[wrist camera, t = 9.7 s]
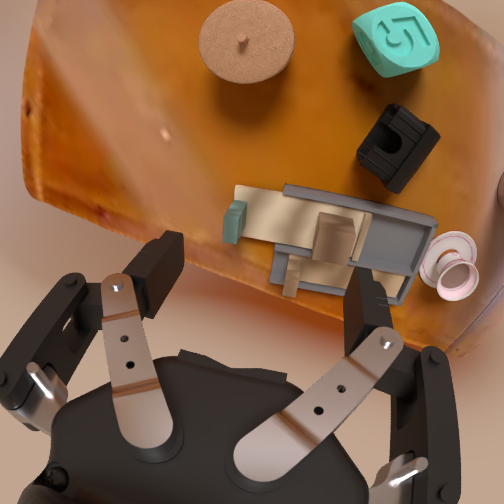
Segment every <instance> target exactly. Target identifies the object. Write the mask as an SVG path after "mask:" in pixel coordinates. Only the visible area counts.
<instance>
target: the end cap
mask: <svg viewBox="0 0 504 504" xmlns="http://www.w3.org/2000/svg"><path fill="white" fill-rule="evenodd" d="M439 139H440V134H439V133H438V132H437V131H436V130H435V129H434V128H433V127H432V126H431V125H429V124H427V123H425V122H423V121H421V120H419V119H418V118H417V117H416V116H414V115H413V114H412V113H411V112H409V111H408V110H407V109H406V108H404V107H403V106H402V105H398V104H393V103H392V104H389V105H388V106H387V107H386V109H385V110H384V112H383V113H382V115H381V116H380V117H379V119H378V120H377V122H376V123H375V125H374V126H373V128H372V129H371V131H370V132H369V134H368V135H367V136H366V138H365V139H364V141H363V142H362V144H361V145H360V147H359V148H358V149H357V158H358V160H359V161H360V165H362V166H363V167H365V168H366V169H367V170H369V171H370V172H372V173H373V174H374V175H376V176H377V177H378V178H380V179H381V181H382V183H383V185H384V186H385V187H386V188H387V189H388V190H390V191H391V192H393V193H395V194H399V193H400V192H401V191H402V189H403V188H404V187H405V186H406V184H407V183H408V182H409V180H410V179H411V178H412V176H413V175H414V174H415V172H416V171H417V170H418V168H419V167H420V166H421V164H422V163H423V162H424V160H425V159H426V158H427V156H428V155H429V153H430V152H431V151H432V149H433V148H434V146H435V145H436V144H437V142H438V141H439Z"/></svg>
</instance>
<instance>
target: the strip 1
mask: <svg viewBox="0 0 504 504" xmlns="http://www.w3.org/2000/svg"><path fill="white" fill-rule="evenodd" d="M319 212H324V213H329V214H334V215H339V216H344V217H349V218H353V222H354V227H355V231H356V238H355V242H354V245H353V248H352V251H351V254H350V257H351V260H352V261H357V262H358V259H359V256H360V253H361V250H362V247H363V244H364V241H365V238H366V235H367V232H368V229H369V226H370V222H371V219H372V213H371V212H369V211H364V210H360V209H355V208H350V207H346V206H341V205H336V204H331V203H326V202H321V201H316V200H311V199H306V198H300V197H295V196H289V195H284V194H283V192H279V191H273V190H267V189H261V188H255V187H248V186H242V185H236V186H235V194H234V201H233V202H232V204H231V205H230V207H229V209H228V210H227V212H226V213H225V215H224V221H223V242H226V243H232V244H237V242H238V240H239V238H240V236H244V237H249V238H255V239H260V240H265V241H271V242H276V243H282V244H287V245H292V246H297V247H303V248H308V249H312V247H313V238H314V234H315V229H316V225H317V220H318V216H319Z"/></svg>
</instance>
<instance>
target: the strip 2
mask: <svg viewBox="0 0 504 504" xmlns="http://www.w3.org/2000/svg"><path fill="white" fill-rule="evenodd" d="M354 267H355V266H354V265H349V264H347V266H343V265H338V264H332V263H327V262H322V261H317V260H312V257H307V256H301V255H296V254H291V253H290V255H289V260H288V265H287V270H286V275H285V281H284V287H283V292H282V295H283V296H289V297H294V298H295V296H296V292H297V288H298V284H299V281H304V282H309V283H315V284H320V285H326V286H331V287H337V288H342V289H347V286H348V283H349V280H350V278H351V275H352V272H353V269H354ZM358 267H359V266H358ZM371 270H372V274H373V279H374V281H379V282H380V283H381V284H382V286H383V287H384V288H385V290H386V294H387V296H388V297H393V298H395V297H396V295H397V293H398V291H399V289H400V287H401V285H402V283H403V281H404V279H405V277H406V276H405V275H400V274H395V273H390V272H385V271H380V270H374V269H371Z"/></svg>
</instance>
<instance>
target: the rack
mask: <svg viewBox="0 0 504 504" xmlns="http://www.w3.org/2000/svg"><path fill="white" fill-rule="evenodd" d="M283 194H284V195H289V196H295V197H300V198H306V199H311V200H316V201H321V202H326V203H331V204H336V205H341V206H346V207H350V208H355V209H360V210H364V211H369V212H371V213H372V219H371V222H370V226H369V229H368V232H367V235H366V238H365V241H364V244H363V247H362V250H361V253H360V256H359V259H358V262H357V261H352V260H351V257H349V260H348V263H347V264H349V265H354V266H359V267H364V268H369V269H374V270H380V271H385V272H390V273H395V274H400V275H405V276H406V277H405V279H404V281H403V283H402V285H401V287H400V289H399V291H398V293H397V295H396V297H395V298H393V297H388V296H387V300H388V304H393V305H397V306H401V304H402V303H403V301H404V299H405V297H406V295H407V293H408V291H409V289H410V287H411V285H412V283H413V281H414V279H415V277H416V275H417V273H418V271H419V268H420V266H421V264H422V262H423V260H424V257H425V255H426V253H427V251H428V248H429V246H430V244H431V241H432V239H433V237H434V234H435V232H436V229H437V227H438V223H437V221H436V220H435V219H434V217H432V216H429V215H425V214H421V213H418V212H414V211H410V210H406V209H402V208H398V207H394V206H390V205H386V204H382V203H378V202H373V201H369V200H365V199H360V198H356V197H351V196H347V195H342V194H337V193H332V192H327V191H322V190H317V189H312V188H307V187H301V186H296V185H290V184H285V186H284V190H283ZM274 250H275V251H274V257H273V264H272V270H271V275H270V279H269V282H270V283H275V284H280V285H284V281H285V275H286V270H287V265H288V260H289V255H290V253H291V254H296V255H301V256H307V257H312V249H308V248H303V247H297V246H292V245H287V244H282V243H275V248H274ZM298 288H301V289H307V290H312V291H318V292H323V293H329V294H334V295H340V296H344V295H345V291H346V289H342V288H337V287H331V286H326V285H320V284H315V283H309V282H304V281H299V284H298Z"/></svg>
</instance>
